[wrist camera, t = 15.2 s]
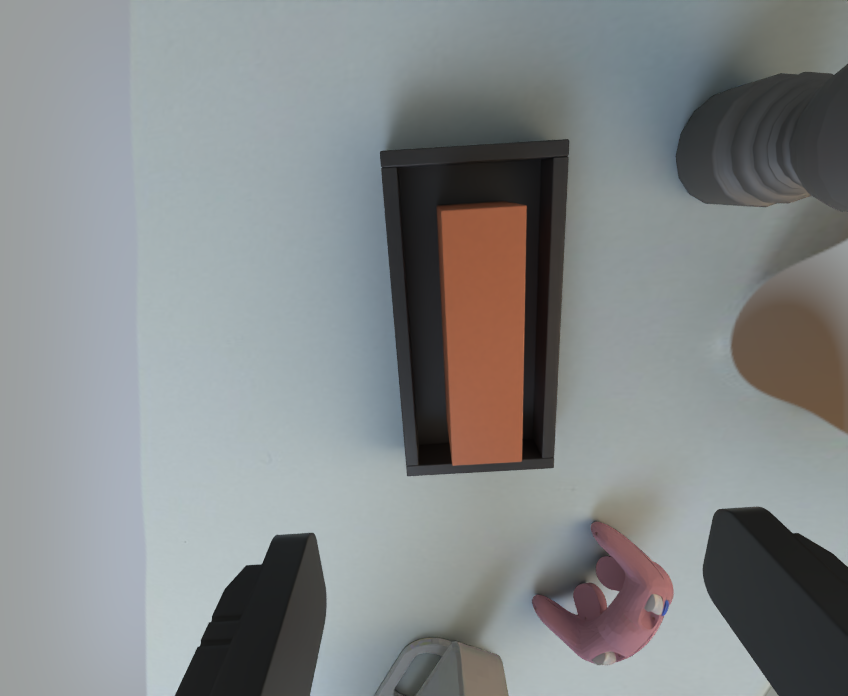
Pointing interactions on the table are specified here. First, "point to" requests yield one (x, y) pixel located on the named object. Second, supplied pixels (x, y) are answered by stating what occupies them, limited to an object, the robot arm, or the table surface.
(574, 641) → the video game controller
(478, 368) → the rectangular block
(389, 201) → the tray
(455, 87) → the table surface
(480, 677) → the network device
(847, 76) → the candle holder
